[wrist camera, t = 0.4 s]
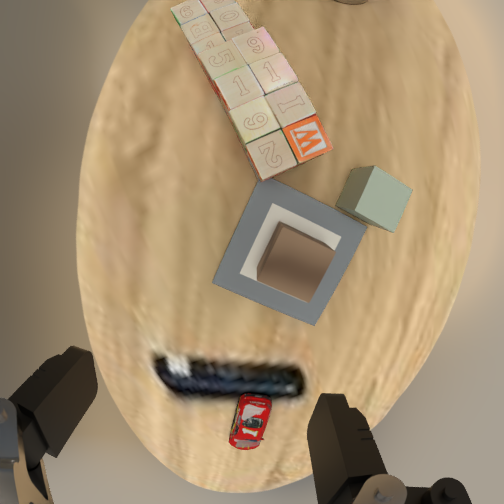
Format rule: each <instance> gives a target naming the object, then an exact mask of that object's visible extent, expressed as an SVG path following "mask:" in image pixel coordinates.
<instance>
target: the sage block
mask: <svg viewBox="0 0 504 504" xmlns="http://www.w3.org/2000/svg"><path fill="white" fill-rule="evenodd" d="M411 193H412V189H410V188H409V187H407V186H406V185H405V184H403V183H402V182H400V181H398V180H397V179H395V178H394V177H392V176H391V175H389V174H388V173H386V172H385V171H383V170H381V169H380V168H378V167H376V166H368V167H362V168H356V169H352V171H351V173H350V175H349V178H348V180H347V182H346V184H345V186H344V188H343V191H342V193H341V195H340V197H339V199H338V201H337V203H336V206H337V207H339V208H341V209H343V210H344V211H346V212H348V213H350V214H352V215H354V216H356V217H357V218H359V219H361V220H363V221H365V222H366V223H368V224H370V225H373V226H376V227H379V228H382V229H384V230H387V231H390V232H392V233H394V231H395V229H396V227H397V225H398V223H399V221H400V218H401V216H402V214H403V212H404V209H405V207H406V205H407V202H408V200H409V198H410V195H411Z"/></svg>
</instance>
